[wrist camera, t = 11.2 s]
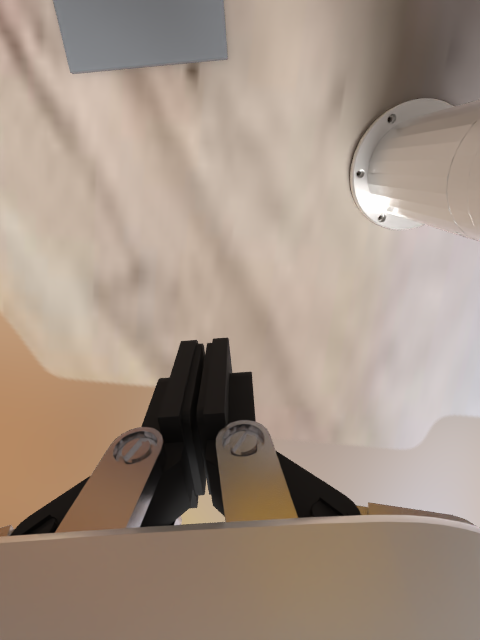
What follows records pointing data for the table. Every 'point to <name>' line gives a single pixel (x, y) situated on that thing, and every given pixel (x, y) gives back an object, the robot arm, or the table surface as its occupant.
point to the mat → (140, 33)
